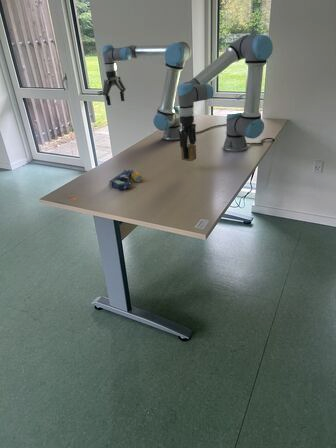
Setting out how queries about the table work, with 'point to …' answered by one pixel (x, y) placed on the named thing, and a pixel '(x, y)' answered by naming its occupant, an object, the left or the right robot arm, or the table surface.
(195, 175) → the table surface
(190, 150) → the block
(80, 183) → the table surface
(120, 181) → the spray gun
